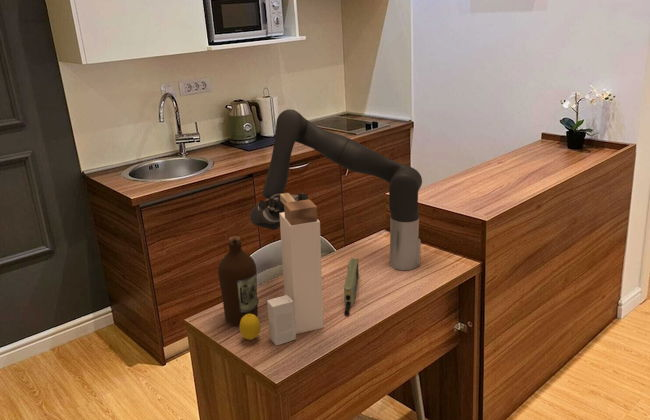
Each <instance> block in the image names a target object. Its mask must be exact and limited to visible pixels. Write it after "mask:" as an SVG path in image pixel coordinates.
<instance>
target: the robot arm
mask: <svg viewBox="0 0 650 420" xmlns="http://www.w3.org/2000/svg"><path fill="white" fill-rule="evenodd" d="M295 143H298V144H301V145H304V146H306V147H309V148H311V149H313V150H314V151H316V152H318V153H319V154H320V155H322V156H323V157H325V158H326V159H328V160H329V161H331V162H333V163H335V164H337V165H338V166H341V167H343V168H344V169H346V170H348V171H350V172H355V173H359V174H363V175H364V174H365V175H369V176H373V177H377V178H379V179H382V180H383V181H385V182H387V183H389V185H388V186H389V187H388V208H389V213H390V232H389V233H390V234H389V235H390V236H389V237H390V239H389V241H390V242H389V265H390V266H391V267H392V269H395V270H399V271H411V270H414V269H416V268H417V267H418V266H420V264H421V244H422V243H421V242H422V240H421V239H420V238H419V230H420V229H419V228H420V227H419V225H420V209H419V206H418V205H419V204H418V203H419V190H420V189H421V187H422V184H423V178H422V176H421V174H420V172H419V170H417V169H415V168H414V167H411V166H409V165H406V164H404V163H401V162H398V161H395V160H393V159H390V158H389V157H386V156H384V155H382V154H381V153H378V152H377V151H375V150H373V149H371V148H369V147H367V146H365V145H363V144H362V143H359V142H358V141H356V140H354V139H351V138H349V137H347V136H344V135H342V134H339V133H335V132H332V131H329V130H327V129H326V130H325V129H323V128H321V127H319V126H318V125H316V124H314V123H313V122H312V121H309V120H308V119H306V118H305V117H304V116H303V115H302V114H301V113H300V112H298V111H297V110H295V109H291V108H290V109H285V110H283V111H281V112H280V114H279V115H278V116H277V118H276V123H275V132H274V143H273V147H272V154H271V157H270V158H271V159H270V163H269V167H268V171H267V174H266V177H265V181H264V185H263V189H262V192H261V193H262V197H264V199H265V201H264V200H263V199H260V200H259V201H258V202H257V204H256V205H254V206H253V207H252V209H251V211H250V213H249V214H250V221H251V223H252V224H253V225H254V226H257V227H260V228H265V229H269V230H272V231H273V230H274V231H277V230H278V229H280V214H279V213H282V212H285V211H284V204H283V203H282V202H281V201H280V194H283V193H286V192H285V191H286V188H287V185H288V180H289V173H290V172H289V171H290V164H291V158H292V157H291V156H292V152H293V148H294V145H295ZM290 195H291V196H292V198H293V199H294V200H295V201H301V200H308V199H309V195H308V193H304V192H300V193H298V194H290Z"/></svg>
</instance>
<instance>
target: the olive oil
mask: <svg viewBox="0 0 650 420" xmlns="http://www.w3.org/2000/svg"><path fill="white" fill-rule="evenodd" d="M228 248H229V251H228V252H227V253H226V254H225V255H224V256H223V258H221V260H220V262H219V265H218V269H217V275H218V279H219V287H220V292H221V293H220V294H221V298H222V304H223V305H222V306H223V312H224V320H225V321H226V323H227V324H229V325H232V326H237V327H238V326H239V327H240V321H241V319H242V317H243V316H245V315H246V314H253V315H255V316H256V317H257V318H258V316H259V312H258V311H259V310H258V309H259V307H258V305H259V298H258V278H257V277H258V276H257V275H258V274H257V273H258V270H257V265H256V262H255V260H254V259H253V258H252V256H250V255H249V254H248V253H247V252H245V251H244V250H243V249H242V241H241V237H240V236H238V235H233V236H230V237H229V238H228Z"/></svg>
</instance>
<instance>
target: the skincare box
mask: <svg viewBox="0 0 650 420" xmlns="http://www.w3.org/2000/svg"><path fill="white" fill-rule="evenodd" d="M266 307H267V316H268V317H267V318H268V328H269V329H268V330H269V338H270V341H272V343H273V344H274V345H275V346H280V345H282V344H286V343H289V342H291V341H294V340H296V339H297V337H296V335H297V334H296V333H295V318H294V303H293V300H292V299H291V298H290V297H289V296H288V295H282V296H278V297H275V298H274V297H273V298H270V299H268V300H266Z"/></svg>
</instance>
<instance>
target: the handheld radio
mask: <svg viewBox="0 0 650 420" xmlns="http://www.w3.org/2000/svg"><path fill="white" fill-rule="evenodd" d="M358 282H359V259H358V258H357V257H353V258H350V259H349V261H348V264H347V273H346V276H345V282H344V287H343V292H344V294H343V295H344V306H345V308H344V316H348V315H349V314H350V309H351V308H352V307H354V304H355V298H356V296H357V295H356V294H357V290H358Z"/></svg>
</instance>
